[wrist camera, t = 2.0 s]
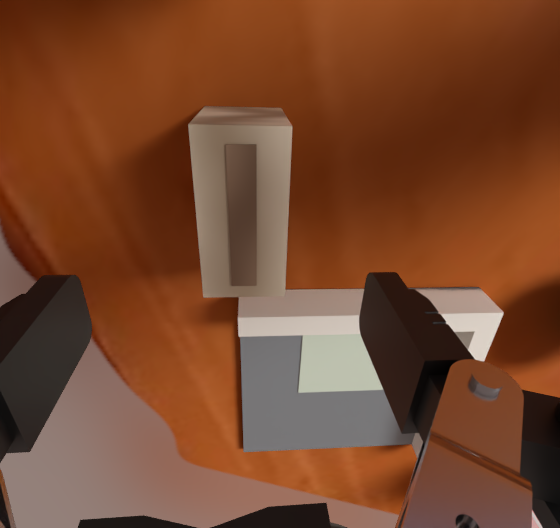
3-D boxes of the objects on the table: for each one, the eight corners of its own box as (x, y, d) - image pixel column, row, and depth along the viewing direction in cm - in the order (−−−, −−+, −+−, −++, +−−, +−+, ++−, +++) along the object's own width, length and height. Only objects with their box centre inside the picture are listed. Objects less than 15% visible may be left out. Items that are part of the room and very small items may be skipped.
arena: (478, 287, 26) (504, 312, 23) (425, 438, 34) (439, 469, 32) (239, 290, 25) (237, 317, 22) (243, 446, 33) (243, 480, 31)
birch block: (281, 107, 19) (292, 126, 14) (277, 242, 23) (285, 297, 18) (204, 105, 19) (187, 124, 14) (214, 243, 23) (203, 298, 18)
